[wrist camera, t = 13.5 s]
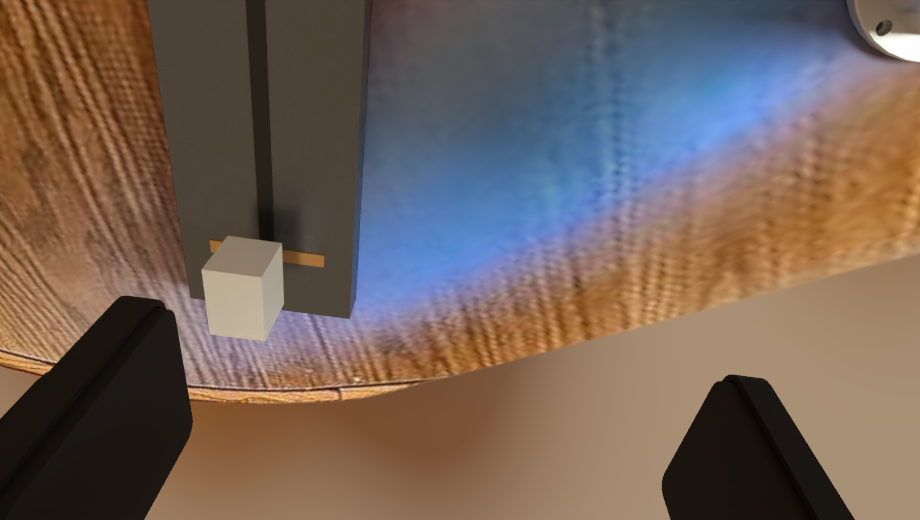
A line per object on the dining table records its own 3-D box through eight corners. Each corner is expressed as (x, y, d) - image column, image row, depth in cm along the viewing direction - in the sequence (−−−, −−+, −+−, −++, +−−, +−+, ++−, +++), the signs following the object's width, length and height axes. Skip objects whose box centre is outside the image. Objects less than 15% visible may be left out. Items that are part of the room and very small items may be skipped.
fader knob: (236, 223, 37) (201, 269, 32) (289, 231, 37) (261, 277, 32) (241, 283, 39) (209, 334, 35) (290, 290, 40) (265, 341, 35)
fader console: (148, -160, 28) (120, -167, 26) (378, -120, 29) (370, -123, 27) (204, 279, 43) (190, 298, 41) (355, 299, 44) (349, 319, 42)
